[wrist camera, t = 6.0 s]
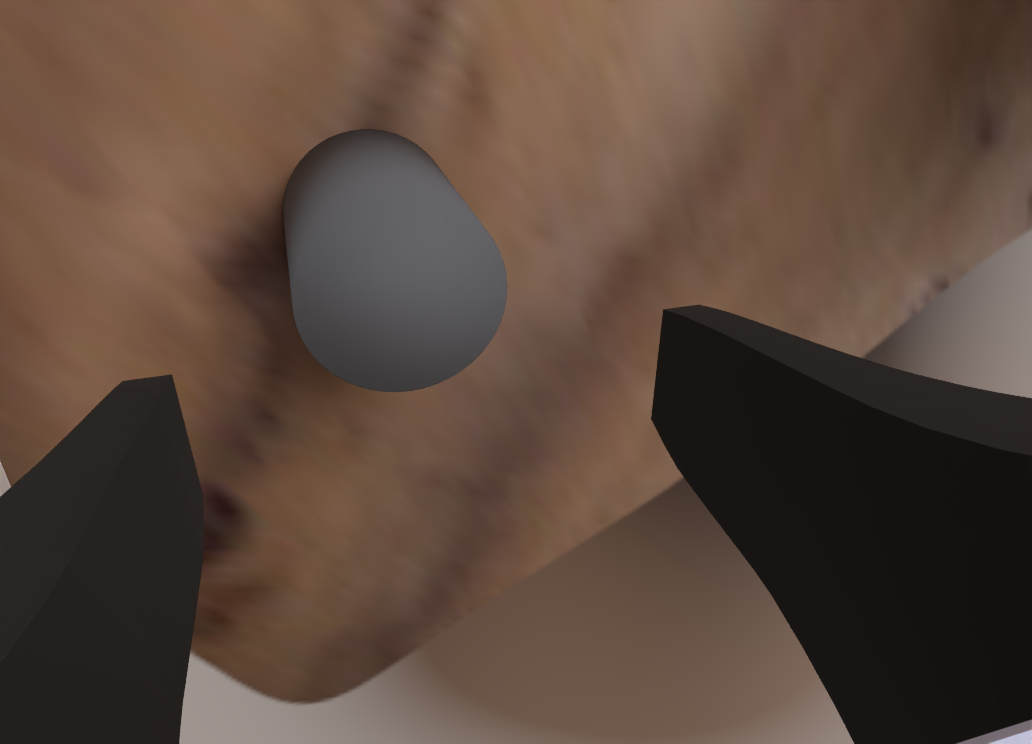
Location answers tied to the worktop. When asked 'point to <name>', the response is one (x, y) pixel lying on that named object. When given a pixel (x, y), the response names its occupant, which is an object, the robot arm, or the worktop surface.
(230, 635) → the worktop surface
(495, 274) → the plug
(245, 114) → the worktop surface
